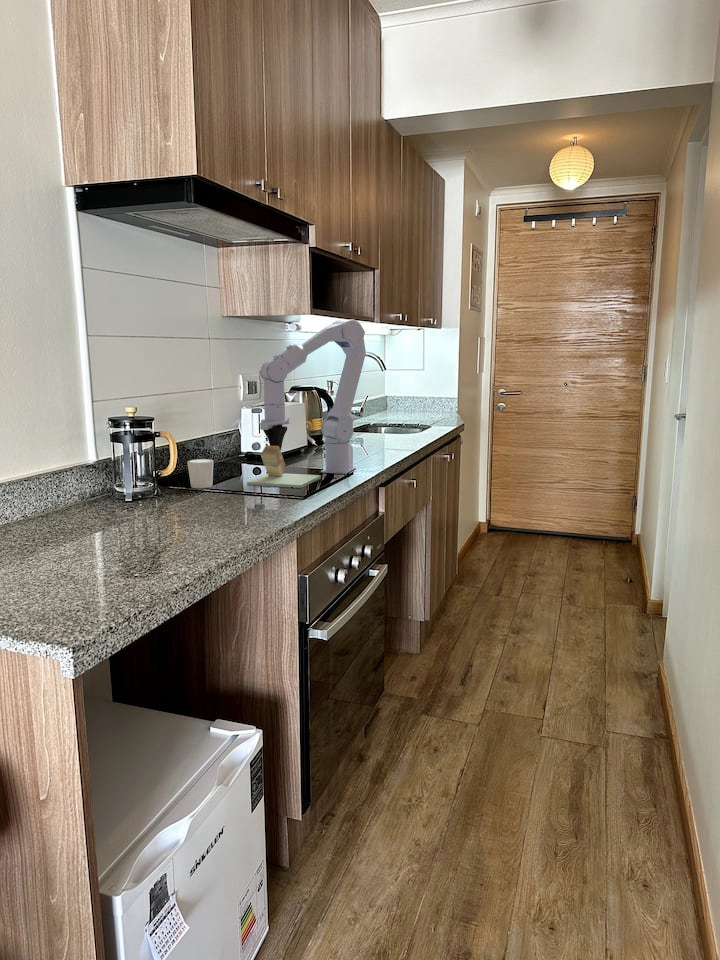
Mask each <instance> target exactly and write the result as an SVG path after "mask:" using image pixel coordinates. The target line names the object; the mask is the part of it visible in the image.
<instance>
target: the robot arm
mask: <svg viewBox="0 0 720 960" xmlns="http://www.w3.org/2000/svg"><path fill="white" fill-rule="evenodd" d="M365 334H366V331H365V329H364V328H363V326H362V324H361V323H360V322H359V320H356V319H348V320H336V321H333V322H332V323H331V324H328V325H325V327H323V328H322V329H321V330H320V331H318V332H316V333H315V334H313V336H311V337H310V338H308V339H307V340H306V341H305V342H303V343H302V344H300V345H299V344H298V345H297V344H293V345H292V344H289V345H287V346H286V349H285V350H284V351H282V352H281V353H279V354H274V355H273V357H272V360H266V361H265V362H263V363H262V364H261V367H260V370H259V375H260V377H261V379H262V381H263V408H264V418H263V419H261V420H260V423H259V427H260V428H259V429H260V430H261V431H262V430H263V431H262V432H264V435H265V436H266V439H267V441H268V443H269V446H279V448H280V451H281V452H282V448H283V447H282V446H283V441H284V438H285V435H286V433H287V431H288V426H284V425H290V417H286V402H285V400H286V399H285V398H286V397H285V395H286V394H285V380H286V378H287V377H288V374H290V373H291V372H293V371H294V370H296V369H297V368H299V367H300V366H301V365H303V364H304V363H306V362H307V358H308V355H310V354H312V353H313V352H315V351H316V350H319V349H320V348H322V347H324V346H325V345H327V344H328V343H330V342H334V343H335V344H336V345H338V346H339V347H340V348H341V350H342V351H343V353H344V355H345V358H344V362H343V363H344V364H343V368H342V371H341V375H340V378H339V383H338V385H337V391H336V395H335V398H334V401H333V406H332V408H331V409H330V410H329V411H328V412H327V415H326V417H325V419H324V421H323V422H322V424H321V425H320V432H321V433H322V435H323V436H324V448H325V449H324V450H325V452H324V453H325V455H324V456H325V459H324V460H325V468H324V469H322V470H320V473H324V474H325V473H326V474H340V475H343V474H344V475H345V474H348V473H350V472H353V471H354V470H355V469H357V467H356V466H354V448H353V445H352V443H351V441H350V440H351V439H352V438H353V436H354V419H355V418H354V416H353V414H352V409H353V408H352V407H353V404H354V400H355V397H356V393H357V389H358V385H359V381H360V377H361V373H362V370H363V366H364V362H365V358H366V353H367V351H366V343H365V337H364V336H365Z"/></svg>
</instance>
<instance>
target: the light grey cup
mask: <svg viewBox="0 0 720 960" xmlns="http://www.w3.org/2000/svg"><path fill="white" fill-rule="evenodd" d="M187 469H188V475H189V481H190V487H191V488H192V489H207V488H211V487H213V481H214V460H213V459H212V458H211V459H209V458H196V459H191V460H188V461H187Z"/></svg>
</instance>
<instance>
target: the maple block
mask: <svg viewBox="0 0 720 960" xmlns="http://www.w3.org/2000/svg"><path fill="white" fill-rule="evenodd" d="M260 457H261V460H262V463H263V466H264V468H265V470H266V474H268V476H277V477H282V475H283V473H284V472H285V470H286V469H287V465H286V463H285V460H284V456H283V455H282V450H281V451H280V448H279V446H270V445H265V446H264V448H263V450H262V451H261V453H260Z"/></svg>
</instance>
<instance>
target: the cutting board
mask: <svg viewBox="0 0 720 960" xmlns="http://www.w3.org/2000/svg"><path fill="white" fill-rule="evenodd" d="M320 479H322V475H319V474H302V473H301V474H300V473H283V475H282V477H277V476H268V473H265V474H263V475H260V476H258V477H256V478H253V479H251V480H248V481H246V485H248V486H259V485H260V486H262V487H264V486H265V487H275V486H276V487H278V488H280V487H281V488H291V487H293V488H294V489H302V488H304V487H306V486H308V485H310V484H312V483H314V482H317V481H319V480H320Z"/></svg>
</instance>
